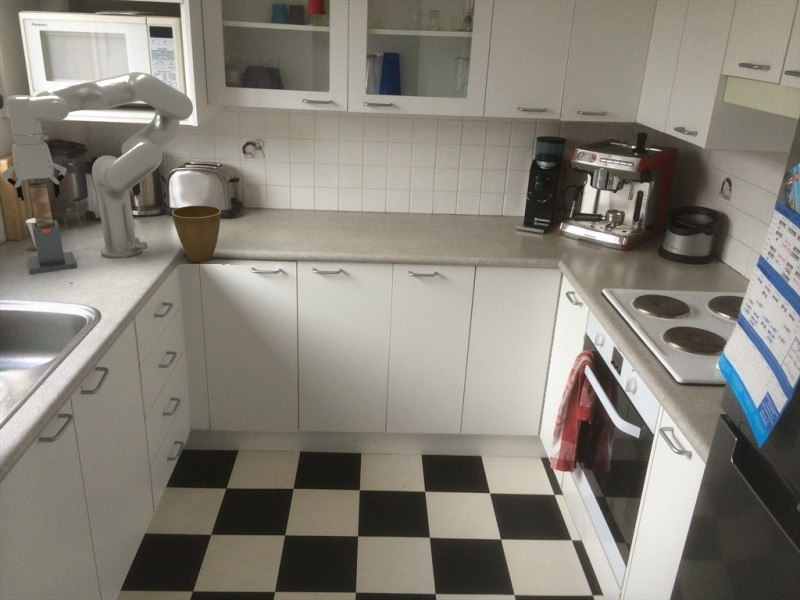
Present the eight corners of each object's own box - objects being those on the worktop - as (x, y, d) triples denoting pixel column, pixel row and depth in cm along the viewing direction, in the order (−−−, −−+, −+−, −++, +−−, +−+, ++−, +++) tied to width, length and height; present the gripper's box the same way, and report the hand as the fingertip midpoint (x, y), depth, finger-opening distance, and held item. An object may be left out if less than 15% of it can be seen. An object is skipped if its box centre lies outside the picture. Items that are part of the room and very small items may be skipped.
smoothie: (43, 251, 217) (35, 210, 211) (26, 250, 218) (18, 208, 212) (56, 246, 222) (49, 205, 217) (40, 244, 224) (32, 204, 218)
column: (55, 240, 205) (45, 181, 198) (57, 244, 202) (46, 184, 195) (39, 241, 203) (28, 183, 196) (40, 245, 200) (29, 186, 193)
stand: (73, 255, 213) (66, 216, 208) (77, 267, 203) (70, 227, 198) (27, 261, 207) (19, 221, 202) (30, 274, 197) (21, 232, 192)
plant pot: (171, 265, 207) (165, 216, 200) (185, 251, 220) (180, 204, 214) (218, 266, 207) (214, 217, 201) (229, 252, 221) (225, 205, 214)
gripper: (60, 136, 198) (70, 192, 204) (-6, 139, 189) (6, 198, 196) (63, 139, 192) (73, 198, 198) (-6, 143, 183) (7, 204, 190)
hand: (39, 198), depth 197 cm, fingers open, 8 cm apart
